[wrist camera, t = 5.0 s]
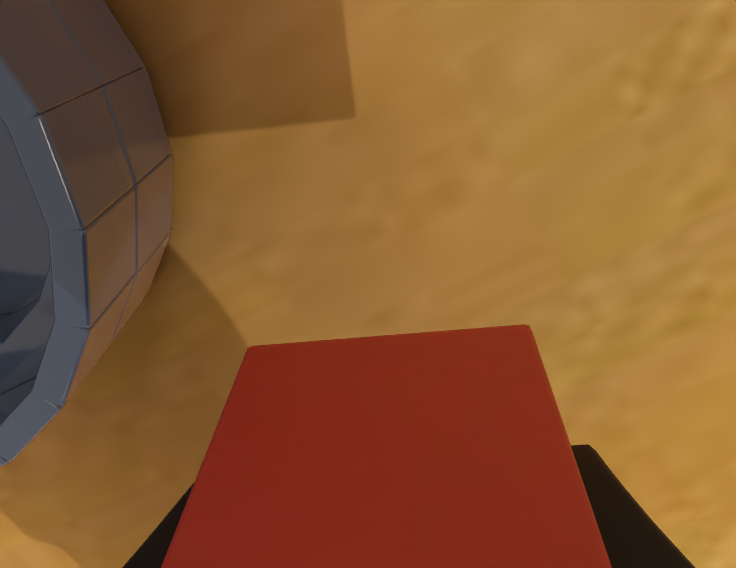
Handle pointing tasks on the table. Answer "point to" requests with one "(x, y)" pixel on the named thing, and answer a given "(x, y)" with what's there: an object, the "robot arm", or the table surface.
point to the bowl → (71, 201)
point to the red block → (391, 460)
